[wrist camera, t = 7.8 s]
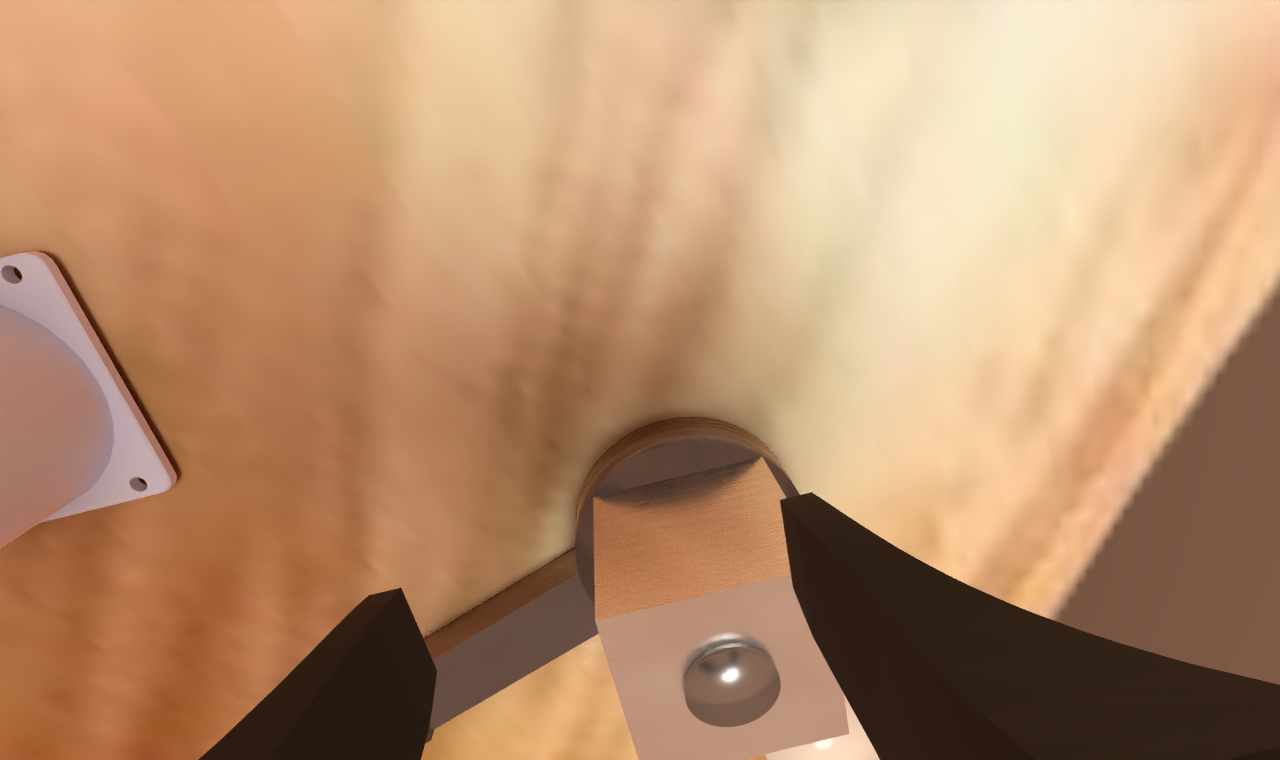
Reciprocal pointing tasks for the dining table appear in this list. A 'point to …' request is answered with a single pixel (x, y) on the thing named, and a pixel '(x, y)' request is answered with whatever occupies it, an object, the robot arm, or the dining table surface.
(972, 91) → the dining table surface
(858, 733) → the pale pink cylinder
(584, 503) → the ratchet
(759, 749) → the tan square block
